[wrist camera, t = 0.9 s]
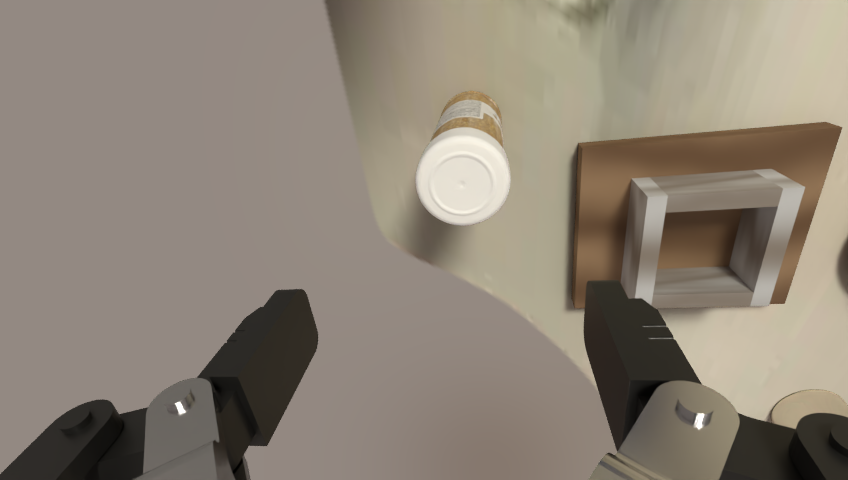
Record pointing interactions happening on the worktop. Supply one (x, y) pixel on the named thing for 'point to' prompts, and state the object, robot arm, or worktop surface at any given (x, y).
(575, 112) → the worktop surface
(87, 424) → the robot arm
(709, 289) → the socket
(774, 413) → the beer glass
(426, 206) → the sprinkles bottle
